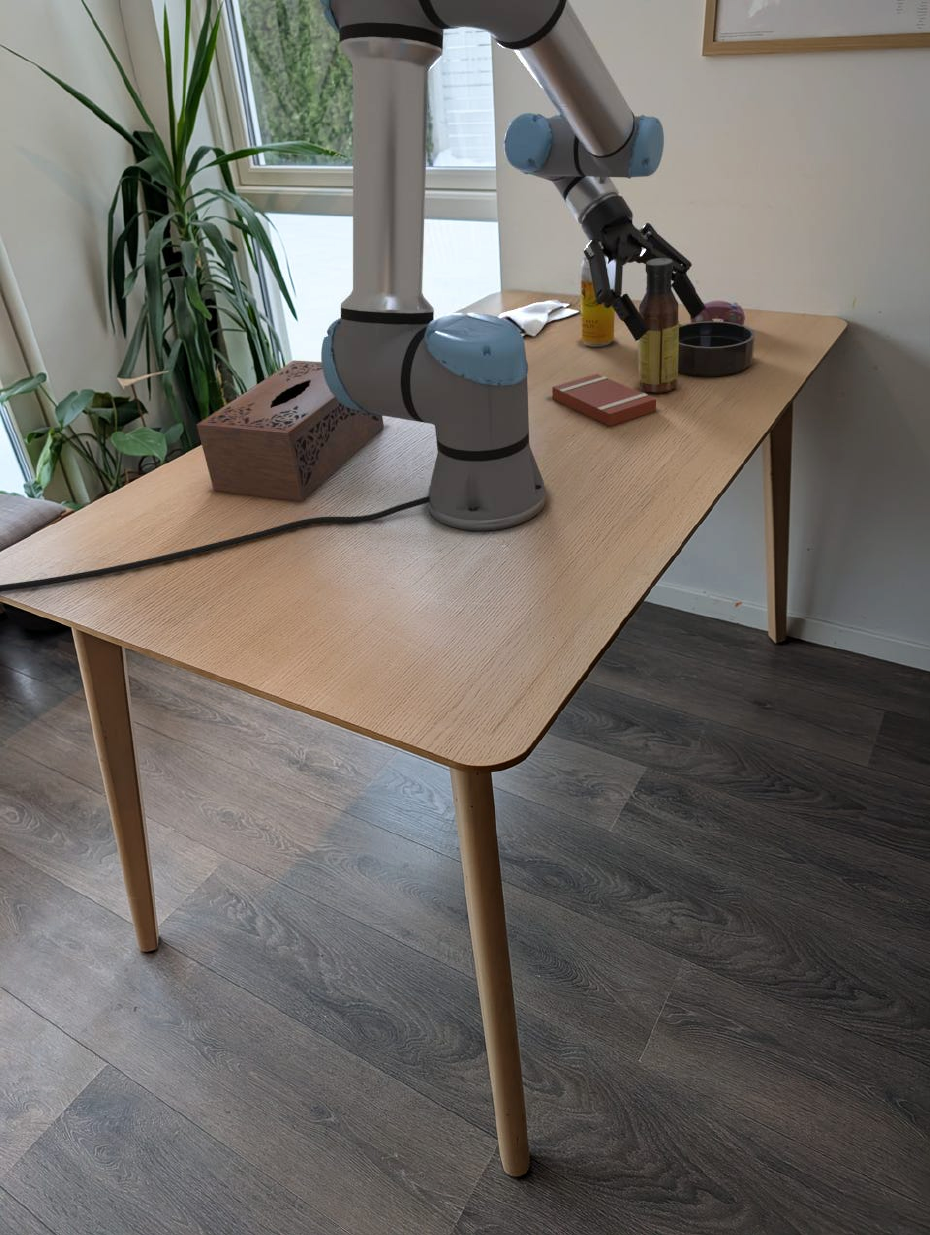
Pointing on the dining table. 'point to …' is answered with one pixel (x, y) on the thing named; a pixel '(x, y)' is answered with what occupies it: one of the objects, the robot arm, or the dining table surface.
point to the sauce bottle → (659, 330)
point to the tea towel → (604, 399)
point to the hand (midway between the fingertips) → (671, 324)
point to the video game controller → (721, 313)
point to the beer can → (594, 313)
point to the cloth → (537, 316)
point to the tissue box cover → (283, 435)
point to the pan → (714, 348)
